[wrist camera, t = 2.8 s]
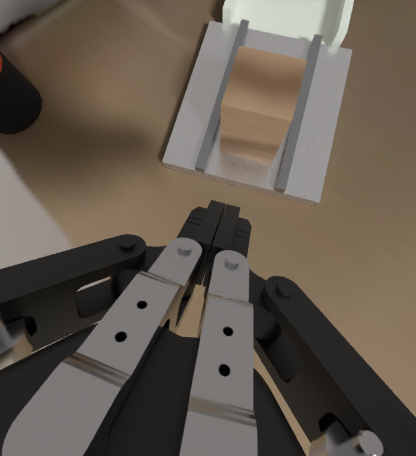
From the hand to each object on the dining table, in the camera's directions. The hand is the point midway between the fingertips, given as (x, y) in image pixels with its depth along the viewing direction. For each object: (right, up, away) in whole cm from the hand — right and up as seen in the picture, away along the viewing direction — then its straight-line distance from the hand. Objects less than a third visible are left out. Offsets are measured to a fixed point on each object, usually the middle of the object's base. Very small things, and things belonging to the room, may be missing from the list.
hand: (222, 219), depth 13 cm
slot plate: (+5, +14, +19) cm, 24 cm away
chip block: (+4, +10, +17) cm, 20 cm away
